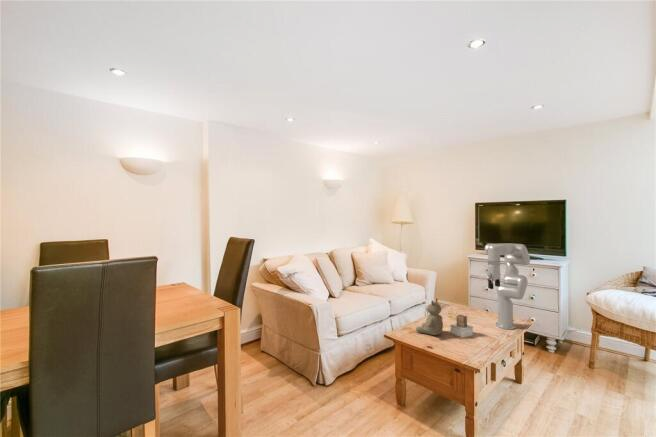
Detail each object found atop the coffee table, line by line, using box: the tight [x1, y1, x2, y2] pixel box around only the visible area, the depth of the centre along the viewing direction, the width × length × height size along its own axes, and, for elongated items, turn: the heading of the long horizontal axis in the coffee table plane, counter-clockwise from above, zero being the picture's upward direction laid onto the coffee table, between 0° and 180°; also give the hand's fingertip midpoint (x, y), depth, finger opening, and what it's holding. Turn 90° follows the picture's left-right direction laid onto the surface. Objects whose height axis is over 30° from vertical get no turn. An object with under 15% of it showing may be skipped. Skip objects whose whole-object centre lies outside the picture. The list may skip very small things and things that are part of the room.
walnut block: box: [456, 313, 468, 328], centre depth 211 cm, size 5×5×7 cm
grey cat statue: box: [415, 297, 444, 336], centre depth 214 cm, size 21×16×25 cm
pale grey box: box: [449, 322, 474, 339], centre depth 211 cm, size 11×11×6 cm
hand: (494, 287), depth 208 cm, fingers open, 9 cm apart
